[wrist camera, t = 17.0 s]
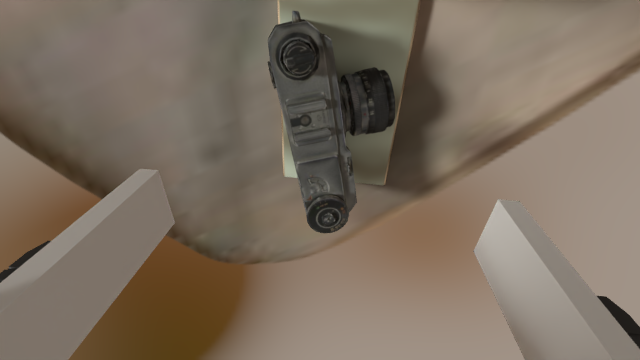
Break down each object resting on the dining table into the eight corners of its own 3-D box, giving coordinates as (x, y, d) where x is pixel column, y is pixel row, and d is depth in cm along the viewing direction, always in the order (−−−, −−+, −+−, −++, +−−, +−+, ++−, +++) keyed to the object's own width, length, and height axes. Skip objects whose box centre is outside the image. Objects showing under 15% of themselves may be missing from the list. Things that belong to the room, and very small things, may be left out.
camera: (381, 170, 34) (415, 224, 25) (304, 187, 34) (313, 247, 25) (366, -6, 25) (412, -16, 16) (261, 17, 25) (251, 19, 16)
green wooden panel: (278, -113, 22) (93, -389, 6) (437, -109, 21) (673, -411, 6) (286, 169, 35) (232, 303, 20) (383, 177, 35) (408, 323, 19)
